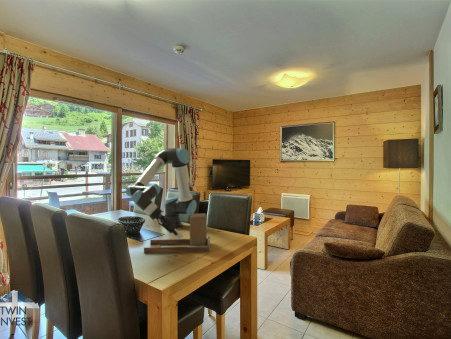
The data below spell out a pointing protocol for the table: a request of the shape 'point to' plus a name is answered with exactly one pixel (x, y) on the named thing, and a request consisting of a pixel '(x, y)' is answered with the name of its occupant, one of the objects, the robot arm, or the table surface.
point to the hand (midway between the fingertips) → (181, 237)
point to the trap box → (157, 249)
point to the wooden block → (198, 230)
